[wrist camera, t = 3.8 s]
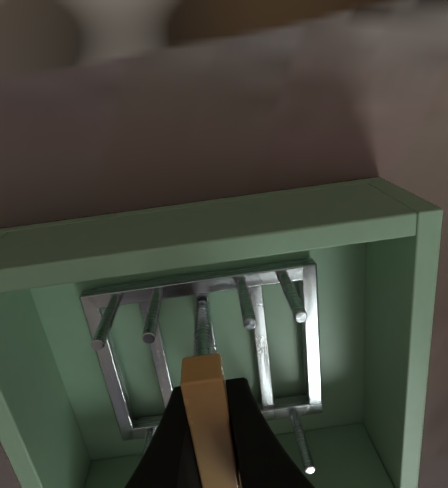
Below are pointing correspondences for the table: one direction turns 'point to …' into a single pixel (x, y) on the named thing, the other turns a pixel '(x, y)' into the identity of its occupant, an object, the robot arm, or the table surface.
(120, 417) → the dish rack
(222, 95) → the table surface
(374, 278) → the green open tray
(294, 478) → the robot arm
